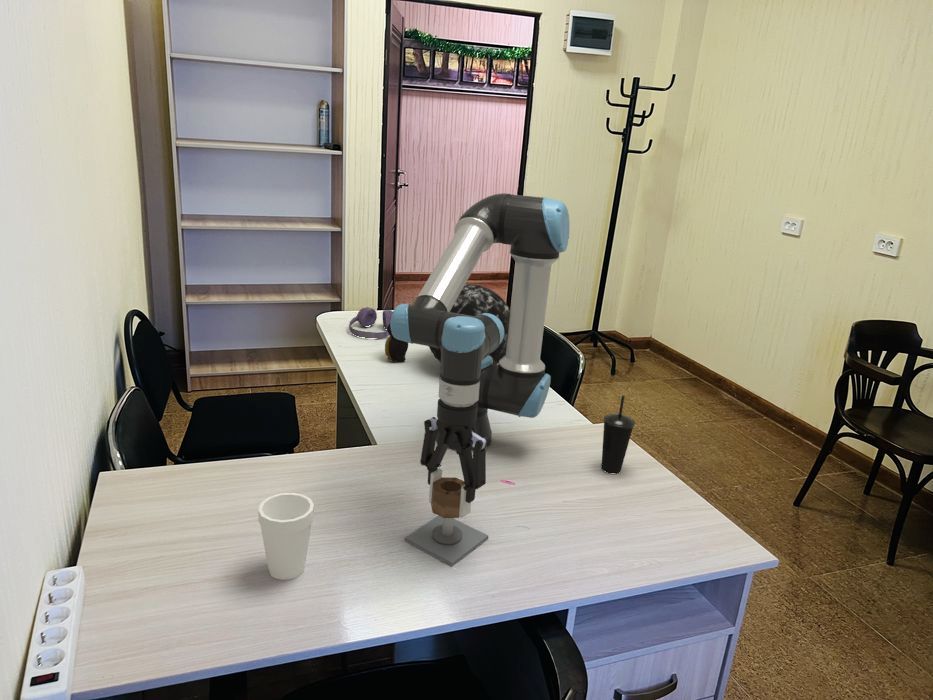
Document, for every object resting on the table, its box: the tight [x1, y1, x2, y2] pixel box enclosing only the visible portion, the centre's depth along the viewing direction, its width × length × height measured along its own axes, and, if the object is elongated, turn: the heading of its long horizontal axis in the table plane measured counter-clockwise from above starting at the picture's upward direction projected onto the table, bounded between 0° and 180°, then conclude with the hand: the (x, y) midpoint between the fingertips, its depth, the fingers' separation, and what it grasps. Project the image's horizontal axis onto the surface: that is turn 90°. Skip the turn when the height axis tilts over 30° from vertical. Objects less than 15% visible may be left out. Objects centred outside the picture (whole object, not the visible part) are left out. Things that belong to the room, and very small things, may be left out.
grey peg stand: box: [404, 515, 489, 567], centre depth 132 cm, size 12×12×10 cm
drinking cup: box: [601, 395, 636, 475], centre depth 164 cm, size 8×8×20 cm
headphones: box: [348, 306, 393, 339], centre depth 259 cm, size 18×8×20 cm
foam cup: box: [257, 492, 315, 581], centre depth 119 cm, size 10×9×13 cm
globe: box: [428, 283, 511, 365], centre depth 222 cm, size 30×30×30 cm
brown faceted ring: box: [430, 476, 465, 519], centre depth 130 cm, size 7×7×5 cm
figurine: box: [384, 323, 409, 363], centre depth 229 cm, size 10×7×15 cm
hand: (449, 507), depth 131 cm, fingers closed on brown faceted ring, 7 cm apart
